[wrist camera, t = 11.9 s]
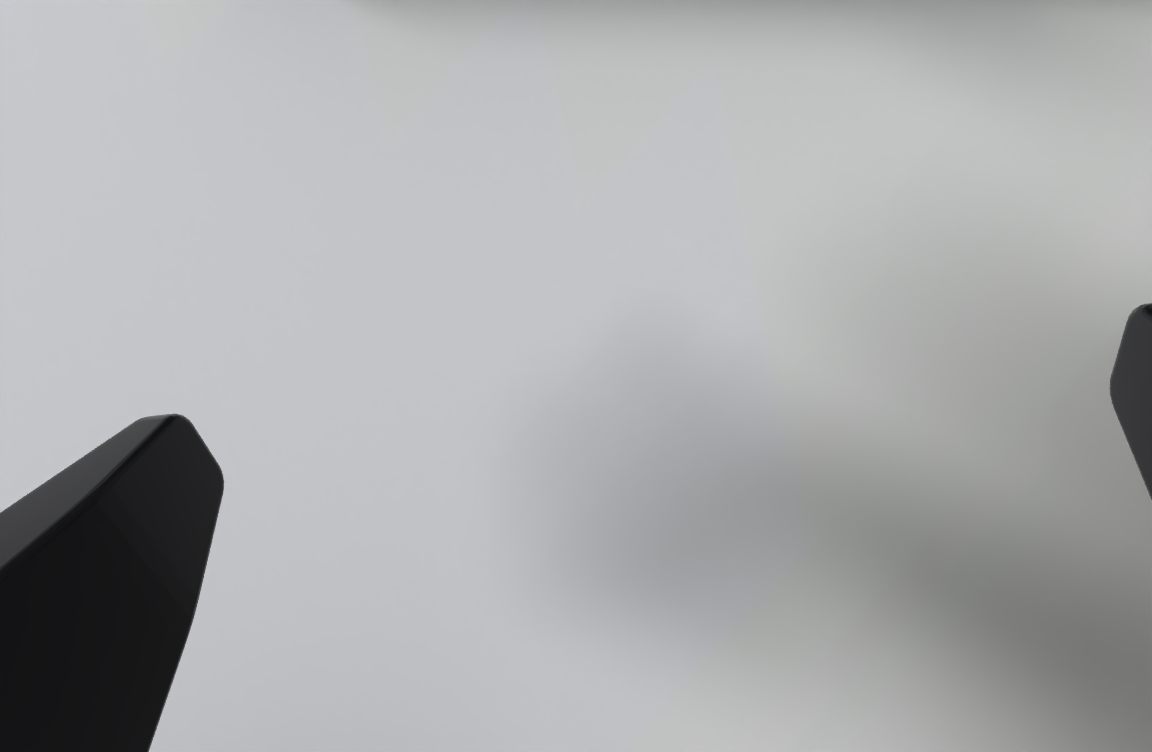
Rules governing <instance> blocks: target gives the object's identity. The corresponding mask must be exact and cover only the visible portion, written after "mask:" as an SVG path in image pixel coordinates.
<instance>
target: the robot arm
mask: <svg viewBox="0 0 1152 752" xmlns="http://www.w3.org/2000/svg"><path fill="white" fill-rule="evenodd" d="M1110 395H1111V400H1112V404H1113V406H1114V409H1115V412H1116V414H1117V417H1118V419H1119V421H1120V424H1121V426H1122V429H1123V431H1124V434H1125V436H1126V438H1127V441H1128V443H1129V446H1130V448H1131V451H1132V453H1133V455H1134V458H1135V460H1136V463H1137V465H1138V468H1139V470H1140V473H1141V475H1142V477H1143V480H1144V482H1145V485H1146V487H1147V490H1148V492H1149V494H1150V497H1151V499H1152V303H1150V304H1143V305H1141V306H1139V307H1137V308H1136V309H1134V310H1133V311H1132V313H1131V314H1130V315H1129V318H1128V320H1127V323H1126V326H1125V330H1124V333H1123V337H1122V340H1121V344H1120V347H1119V351H1118V354H1117V358H1116V361H1115V365H1114V368H1113V371H1112V375H1111V380H1110ZM223 490H224V480H223V474H222V471H221V468H220V466H219V465H218V463H217V461H216V460H215V458H214V457H213V455H212V454H211V452H210V451H209V449H208V447H207V446H206V444H205V443H204V441H203V440H202V438H201V437H200V435H199V433H198V432H197V430H196V429H195V427H194V426H193V424H192V423H191V422H190V420H188V419H187V418H186V417H184V416H183V415H179V414H167V415H158V416H149V417H144V418H141V419H139V420H137V421H135V422H134V423H132V424H131V425H129V426H128V427H126V428H125V429H123V430H122V431H121V432H119V433H118V434H116V435H115V436H113V437H112V438H110V439H109V440H107V441H106V442H104V443H103V444H101V445H100V446H98V447H97V448H95V449H94V450H92V451H91V452H89V453H88V454H87V455H85V456H84V457H82V458H81V459H79V460H78V461H76V462H75V463H73V464H72V465H70V466H69V467H67V468H66V469H64V470H63V471H61V472H60V473H58V474H57V475H55V476H54V477H53V478H51V479H50V480H48V481H47V482H45V483H44V484H42V485H41V486H39V487H38V488H36V489H35V490H33V491H32V492H30V493H29V494H27V495H26V496H24V497H23V498H21V499H20V500H18V501H17V502H16V503H14V504H13V505H11V506H10V507H8V508H7V509H5V510H4V511H2V512H1V513H0V752H149V749H150V746H151V743H152V740H153V737H154V734H155V732H156V729H157V726H158V723H159V720H160V717H161V714H162V711H163V708H164V705H165V702H166V700H167V697H168V694H169V691H170V688H171V685H172V682H173V679H174V676H175V673H176V670H177V667H178V665H179V662H180V659H181V656H182V653H183V650H184V647H185V644H186V641H187V638H188V635H189V632H190V628H191V625H192V622H193V618H194V615H195V611H196V607H197V603H198V599H199V595H200V591H201V586H202V582H203V578H204V573H205V569H206V565H207V560H208V556H209V552H210V547H211V543H212V539H213V534H214V530H215V526H216V521H217V517H218V513H219V508H220V504H221V500H222V495H223Z"/></svg>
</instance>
